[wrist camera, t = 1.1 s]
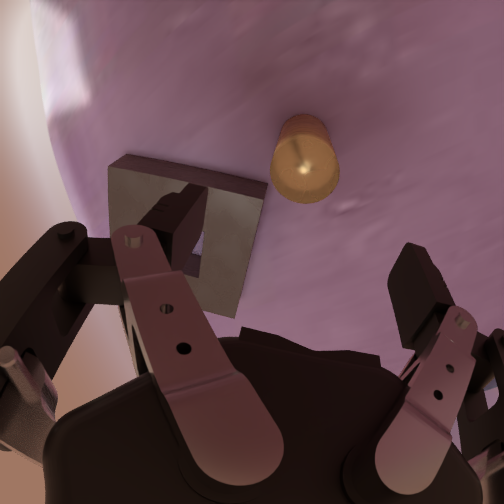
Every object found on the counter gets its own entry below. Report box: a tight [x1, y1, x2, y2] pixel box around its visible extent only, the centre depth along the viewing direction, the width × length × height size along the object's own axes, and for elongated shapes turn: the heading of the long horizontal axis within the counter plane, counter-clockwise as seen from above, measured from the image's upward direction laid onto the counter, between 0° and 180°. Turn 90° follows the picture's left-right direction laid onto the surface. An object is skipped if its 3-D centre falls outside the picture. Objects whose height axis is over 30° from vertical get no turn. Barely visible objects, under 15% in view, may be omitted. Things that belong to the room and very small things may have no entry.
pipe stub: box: [270, 114, 340, 204], centre depth 21 cm, size 4×4×9 cm
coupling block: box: [108, 154, 268, 319], centre depth 30 cm, size 14×14×4 cm
